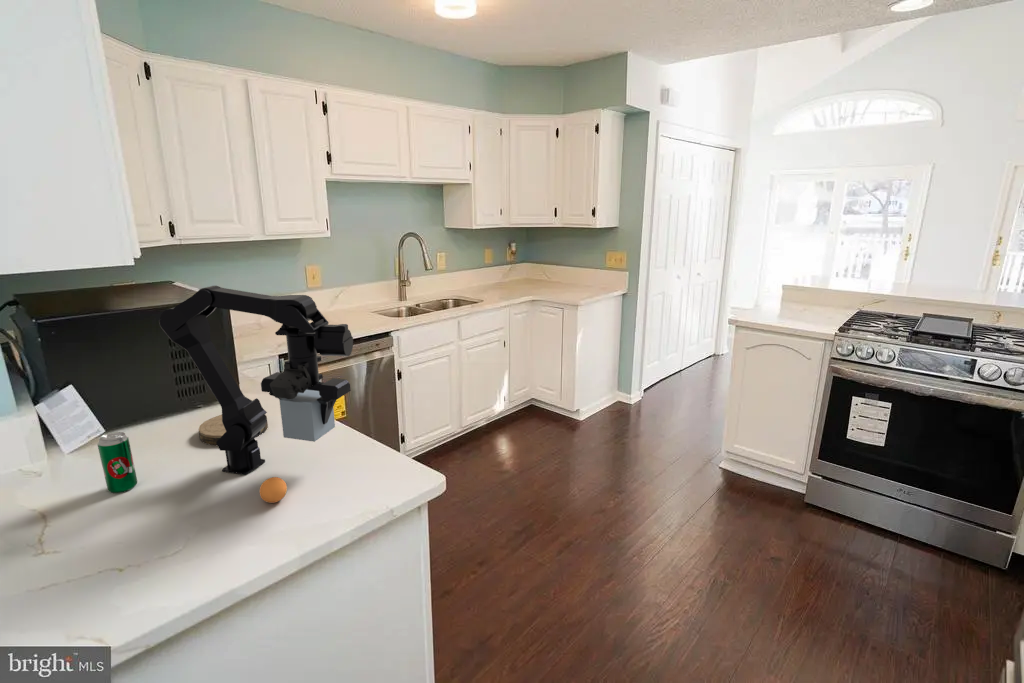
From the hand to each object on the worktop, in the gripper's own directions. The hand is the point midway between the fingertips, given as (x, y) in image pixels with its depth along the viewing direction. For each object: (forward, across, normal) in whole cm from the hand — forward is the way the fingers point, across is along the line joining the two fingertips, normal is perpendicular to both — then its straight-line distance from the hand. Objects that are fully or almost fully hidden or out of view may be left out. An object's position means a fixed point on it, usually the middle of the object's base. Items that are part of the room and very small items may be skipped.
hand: (309, 421), depth 111 cm
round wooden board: (+12, -32, +12) cm, 36 cm away
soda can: (+12, -34, -17) cm, 40 cm away
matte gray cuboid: (+2, 0, 0) cm, 3 cm away
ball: (+9, 0, -13) cm, 16 cm away
